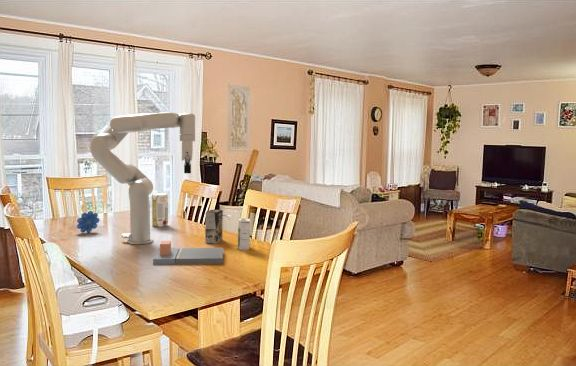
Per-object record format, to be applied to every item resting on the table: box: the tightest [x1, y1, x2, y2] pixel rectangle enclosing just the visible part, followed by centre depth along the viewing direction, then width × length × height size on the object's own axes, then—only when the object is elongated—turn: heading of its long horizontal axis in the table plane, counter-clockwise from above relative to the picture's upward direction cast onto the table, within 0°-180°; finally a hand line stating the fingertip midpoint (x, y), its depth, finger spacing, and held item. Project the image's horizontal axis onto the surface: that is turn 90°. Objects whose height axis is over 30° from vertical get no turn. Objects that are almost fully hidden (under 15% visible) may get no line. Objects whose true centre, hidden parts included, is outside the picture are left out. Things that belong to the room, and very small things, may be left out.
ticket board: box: [174, 247, 224, 265], centre depth 208 cm, size 20×18×3 cm
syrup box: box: [237, 217, 251, 251], centre depth 227 cm, size 6×6×14 cm
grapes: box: [76, 210, 100, 233], centre depth 254 cm, size 12×7×12 cm, turn 121°
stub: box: [152, 240, 180, 265], centre depth 206 cm, size 9×18×7 cm, turn 7°
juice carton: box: [151, 192, 169, 228], centre depth 275 cm, size 8×9×19 cm
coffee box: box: [204, 209, 224, 244], centre depth 240 cm, size 9×6×16 cm
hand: (187, 172), depth 233 cm, fingers open, 9 cm apart
